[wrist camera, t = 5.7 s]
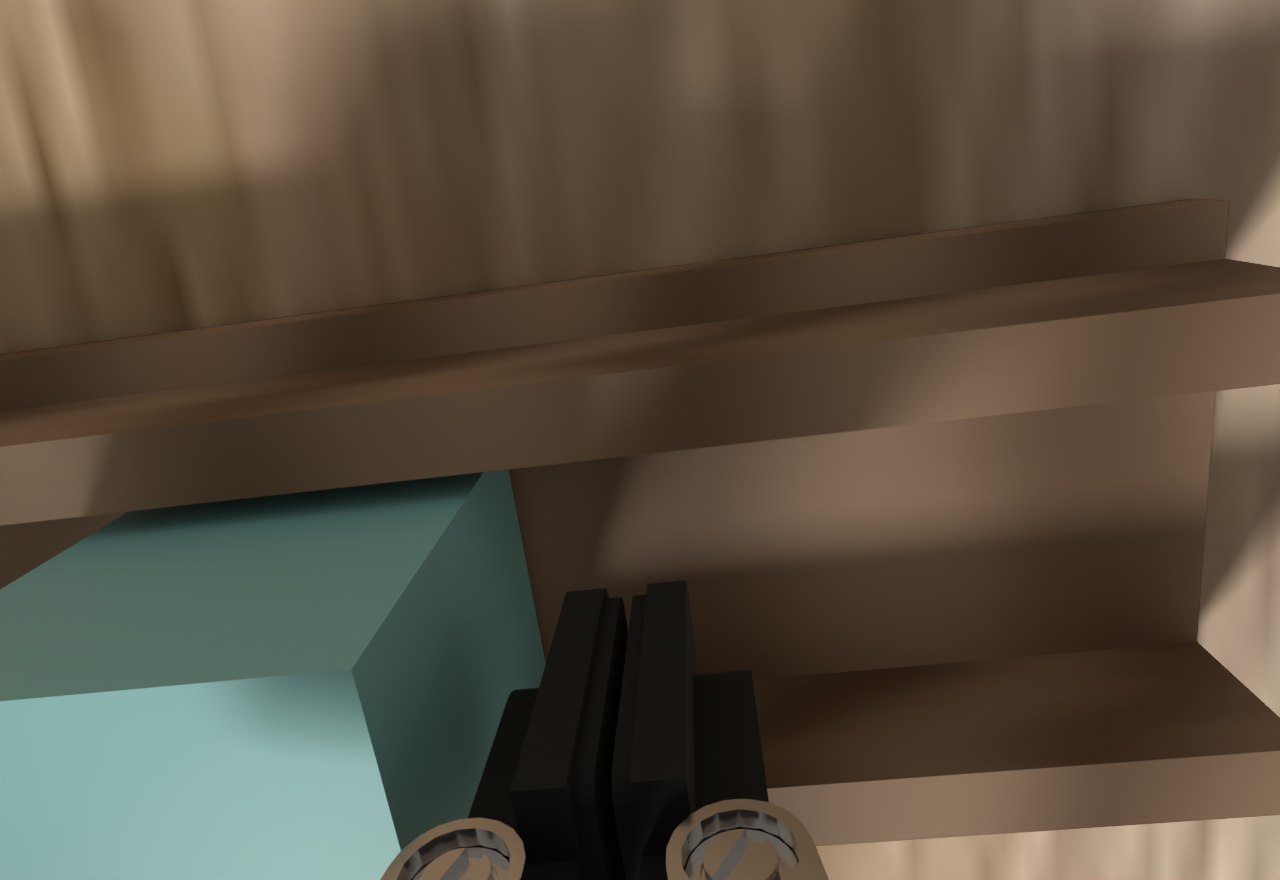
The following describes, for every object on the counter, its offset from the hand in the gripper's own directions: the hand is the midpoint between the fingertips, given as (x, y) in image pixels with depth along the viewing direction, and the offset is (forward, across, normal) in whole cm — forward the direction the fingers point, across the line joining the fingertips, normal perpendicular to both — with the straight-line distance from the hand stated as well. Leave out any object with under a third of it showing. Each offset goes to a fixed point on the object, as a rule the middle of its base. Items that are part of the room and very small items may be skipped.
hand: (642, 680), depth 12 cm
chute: (+5, +5, 0) cm, 7 cm away
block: (+4, +5, 0) cm, 7 cm away
